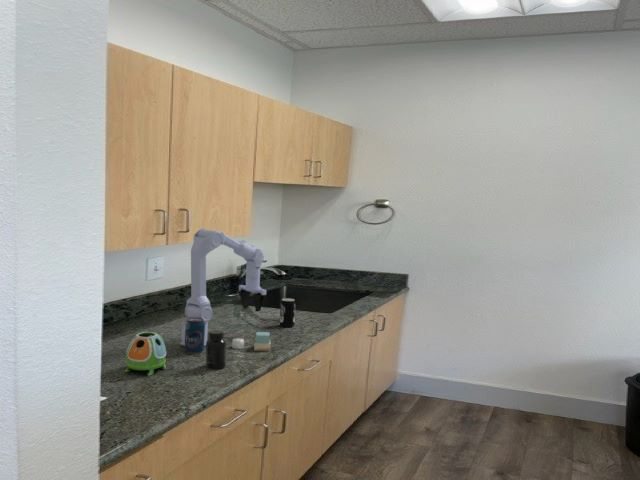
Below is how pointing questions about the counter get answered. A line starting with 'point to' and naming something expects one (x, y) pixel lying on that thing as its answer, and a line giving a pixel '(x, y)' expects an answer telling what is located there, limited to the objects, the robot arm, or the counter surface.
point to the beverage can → (287, 312)
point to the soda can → (194, 335)
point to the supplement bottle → (216, 350)
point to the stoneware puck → (238, 343)
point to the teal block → (262, 337)
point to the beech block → (262, 346)
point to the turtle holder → (146, 353)
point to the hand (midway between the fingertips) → (251, 309)
